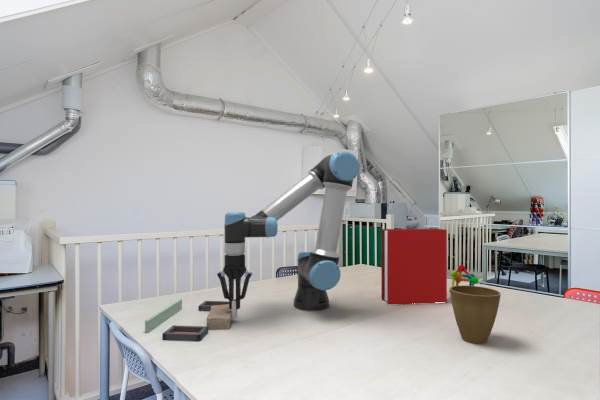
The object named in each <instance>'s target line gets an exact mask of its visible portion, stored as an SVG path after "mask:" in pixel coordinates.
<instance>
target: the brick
mask: <svg viewBox="0 0 600 400" xmlns="http://www.w3.org/2000/svg"><path fill="white" fill-rule="evenodd" d="M232 320H233V319H232V309H229V304H226V305H214V306H213V305H212V306H211V310H210V311H208V314H207V317H206V327H208V331H216V330H218V331H220V330H226V331H227V330H230V328H231V324H232Z"/></svg>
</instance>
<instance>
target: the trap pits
mask: <svg viewBox="0 0 600 400" xmlns="http://www.w3.org/2000/svg"><path fill="white" fill-rule="evenodd" d="M226 304H229V300H226V301H225V300H222V301H221V300H204V301H203V302H202V303H200V304H199V305H198V306H197V307H198V311H199V312H210V310H211V306H212V305H213V306H214V305H226ZM198 311H197V312H198ZM207 334H209V330H208V327H207V325H206V326H202V325H201V326H200V325H197V326H196V325H171V326H170V327H169V328H168V329H166V330H165V331H164V332H162V334H161V335H162V338H161V339H162V340H163V341H181V342H182V341H183V342H184V341H185V342H186V341H187V342H188V341H189V342H201V341H202V339H203V338H204V337H206V335H207Z"/></svg>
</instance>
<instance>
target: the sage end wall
mask: <svg viewBox="0 0 600 400" xmlns="http://www.w3.org/2000/svg"><path fill="white" fill-rule="evenodd" d="M182 309H183V299H182V298H179V299H177V300H176V301H174V302H172V303H171V304H170V305H168V306H166V307H164V308H163V309H161V310H160V311H158V312H157V313H155V314H153V315H151V316H150V317H148V318H147V319H145V321H144V332H145V333H150V332H152V330H154V329H155V328H157V327H159V326H161V324H163V323H164V322H166V321H167V320H168V319H170V318H171V317H173V316H174V315H175V314H178V312H179V311H181V310H182Z"/></svg>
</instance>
